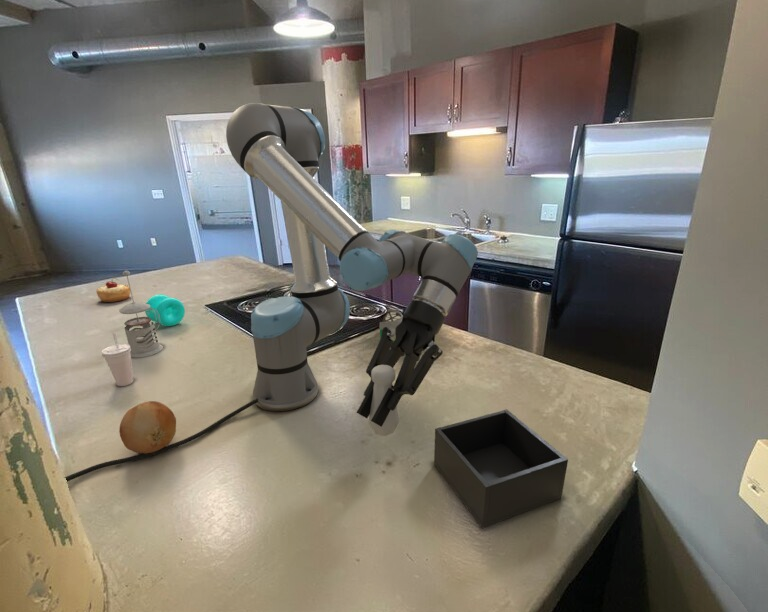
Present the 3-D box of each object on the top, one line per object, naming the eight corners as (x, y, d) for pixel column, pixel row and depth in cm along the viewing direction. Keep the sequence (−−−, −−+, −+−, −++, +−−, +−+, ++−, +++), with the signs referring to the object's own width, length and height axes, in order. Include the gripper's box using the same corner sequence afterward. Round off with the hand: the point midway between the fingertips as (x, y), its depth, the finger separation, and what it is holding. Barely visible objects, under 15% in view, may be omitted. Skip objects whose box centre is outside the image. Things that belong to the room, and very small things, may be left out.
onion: (144, 471, 77) (131, 426, 73) (116, 453, 82) (102, 410, 78) (191, 442, 85) (181, 400, 81) (162, 427, 90) (152, 387, 86)
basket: (482, 528, 64) (485, 487, 61) (433, 464, 77) (434, 428, 74) (561, 498, 69) (568, 459, 66) (503, 443, 83) (506, 409, 80)
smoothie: (144, 379, 110) (132, 330, 105) (121, 390, 105) (107, 339, 100) (128, 374, 113) (115, 326, 108) (105, 385, 107) (90, 335, 102)
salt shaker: (367, 420, 81) (366, 361, 76) (397, 419, 81) (397, 359, 77) (369, 439, 76) (367, 376, 71) (400, 437, 76) (401, 375, 71)
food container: (400, 356, 120) (400, 324, 117) (379, 354, 121) (379, 322, 118) (406, 339, 132) (407, 309, 128) (387, 337, 133) (387, 308, 129)
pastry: (92, 303, 172) (86, 282, 168) (113, 294, 182) (108, 274, 179) (117, 304, 170) (112, 283, 166) (138, 295, 181) (133, 275, 177)
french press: (119, 354, 125) (97, 273, 116) (152, 339, 135) (134, 264, 126) (142, 359, 121) (121, 276, 112) (175, 344, 131) (158, 266, 122)
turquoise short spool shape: (173, 316, 155) (168, 290, 151) (188, 321, 149) (183, 295, 146) (146, 324, 147) (140, 298, 144) (161, 330, 142) (154, 303, 138)
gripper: (471, 328, 77) (412, 444, 72) (405, 308, 87) (350, 409, 82) (456, 308, 71) (392, 433, 66) (388, 290, 82) (327, 396, 77)
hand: (369, 419), depth 74 cm, fingers closed on salt shaker, 3 cm apart
